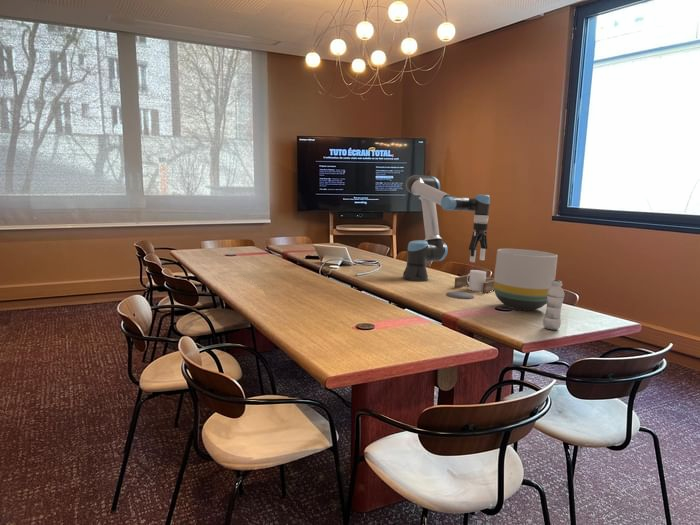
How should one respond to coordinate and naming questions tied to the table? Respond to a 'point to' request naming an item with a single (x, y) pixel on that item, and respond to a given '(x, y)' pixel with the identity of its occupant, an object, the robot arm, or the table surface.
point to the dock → (462, 281)
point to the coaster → (460, 295)
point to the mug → (476, 280)
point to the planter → (524, 277)
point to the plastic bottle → (554, 306)
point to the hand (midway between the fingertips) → (477, 261)
